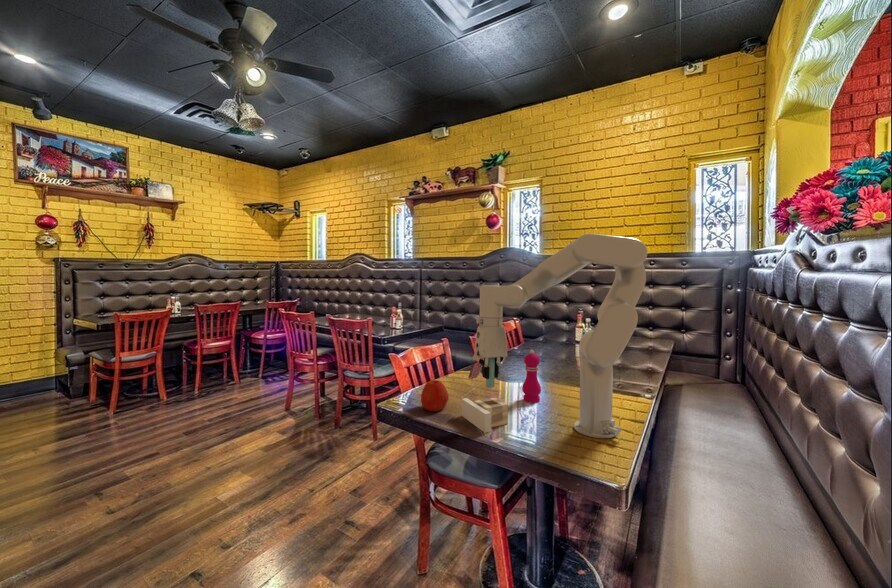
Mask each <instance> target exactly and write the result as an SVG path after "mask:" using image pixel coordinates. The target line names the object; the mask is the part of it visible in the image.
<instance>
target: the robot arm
mask: <svg viewBox="0 0 892 588" xmlns="http://www.w3.org/2000/svg"><path fill="white" fill-rule="evenodd" d="M647 257H648V248H647V246H646V244H645V243H644V242H643V241H642V240H639V239H637V238H634V237H629V236H628V237H627V236H626V237H625V236H618V235H617V236H615V235H610V234H609V235H608V234H600V233H599V234H598V233H584V234H582V235H580V236H579V237H578V238H576V239H574V240H573V241H572V242H570V243H569V244H567V245H566V246H564V247H563V248H562V249H560V250H559V251H557V252H555V253H554V254H552V255H551V256H549V257H548V258H546V259H545V260H543V261H542V262H541V263H540V264H538V265H537V266H536V267H535V268H534V269H533V270H532V271H530V272H529V273H527V274H526V275H524V276H523V277H521V278H520V279H519V280H517V281H515V282H514V283H512V284H511V285H502V286H501V285H498V284H496V285H495V284H486V285H482V286H480V287H479V317H478V319H476V321H475V322H476V324H478V326H477V328H476V329H477V330H476V335H475V344H474V353H473V355H472V360H474V361H476V362H478V363H479V364H480V365H481V375H482V378H484V379H485V380H486V379H489V367H488V358H495V378H494V379H497V378H499V374H500V373H499V372H500V371H499V369H500V368H499V367H500V366H501V364H502V362H503V361H504V360H505V359H506V358H507V357H508V356H509V354H508V340H507V333H506V327H505V326H504V325H503V317H504V316H503V313H504V312H503V310H504V309H503V308H509V309H519V308H520V307H522V306H524V304H525V303H526V302H527V301H529V300H530V299H531V300H532V298H534V297H535V296H537V295H538V294H540V293H541V292H543V291H545V290H548V289H549V288H551V287H554V286H557V285H558V284H560V283H562V282H564V281H565V280H566V279H568V278H569V277H571V276H572V275H574V274H575V273H577V272H578V271H580V270H581V269H583V268H585V267H587V266H588V265H590V264H595V265H602V266H603V265H604V266H610V267H611V266H612V267H613V268H614V270H615V276H614V280H613V283H612V284H611V286H610V289H609V291H608V293H607V294H606V295H605V298H604V300H603V301H602V303H601V305H600V306H599V308H598V310H597V314H596V318H597V320H598V322H597V323H596V326H595V328H594V329H590V330H588V331H586V332H585V333H583V334H582V336H581V338H580V341H579V346H578V348H579V349H578V351H579V353H578V354H579V420H577V421H575V422H574V423H573V428H574V430H575V431H576V432H577V433H578V434H581V435H583V436H585V437H590V438H595V439H611V438H614V437H618V436H620V433H621V432H622V428H621V427H619V426H616V419H613V387H614V386H613V383H614V373H613V372H614V368H613V365H614V364H615V363H617V362H618V360H619V358H620V357H621V355H622V353H624V351H625V349H626V347H627V345H628V343H629V341H630V339H631V337H633V334H634V333H635V330H636V328H637V325H638V322H639V321H638V320H639V315H638V312H637V309H636V306H637V304H638V301H639V300H640V297H641V295H642V293H643V291H644V289H645V286H646V282H647V272H646V271H647V270H646V268H645V264H644V262H645V261H646V260H647Z"/></svg>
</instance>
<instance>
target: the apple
mask: <svg viewBox="0 0 892 588" xmlns="http://www.w3.org/2000/svg"><path fill="white" fill-rule="evenodd" d="M420 394H421V395H420V401H421V402H420V403H421V406H422V408H423V409H424V410H425V411H428V412H438V411H439V412H440V411H442V410H443V409H445V407H446V406H447V404H448V401H449V393H448V390H447V388H446V386H445V384H444V383H443V382H442V381H440V380H437V379H433V380H428V381H427V382H426V383H425V385H424V387H423V388H422V391H421V393H420Z"/></svg>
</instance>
